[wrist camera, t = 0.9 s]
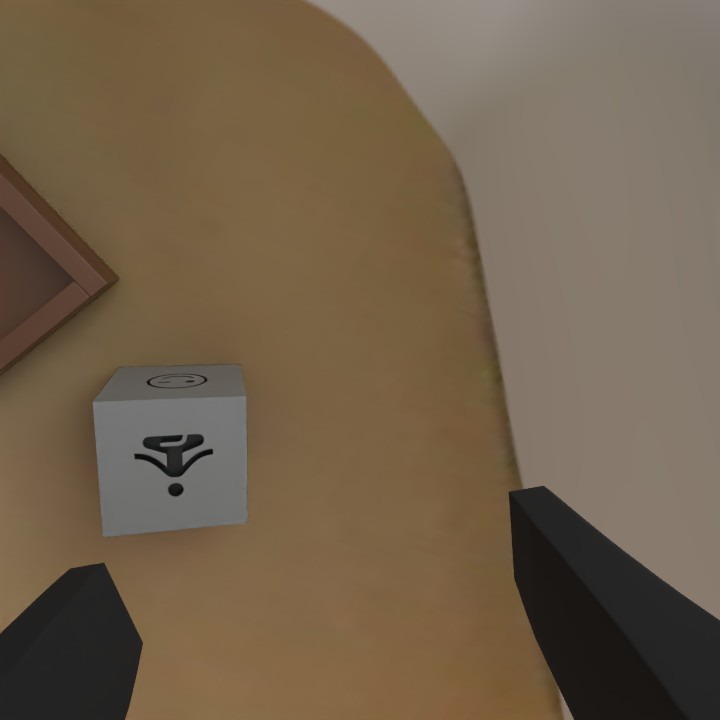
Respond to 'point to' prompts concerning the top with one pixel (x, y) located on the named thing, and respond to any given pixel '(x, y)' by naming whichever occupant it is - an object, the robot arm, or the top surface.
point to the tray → (40, 269)
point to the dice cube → (171, 448)
